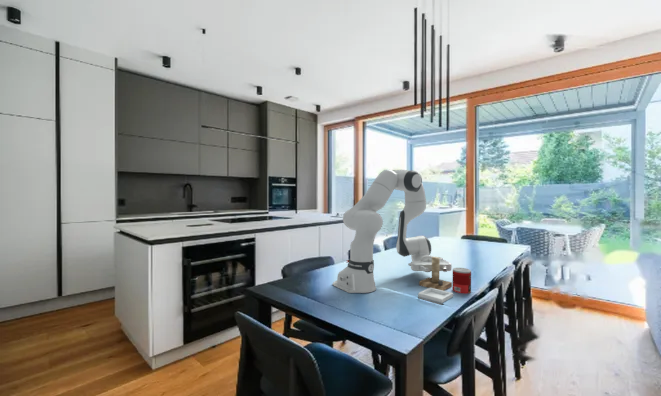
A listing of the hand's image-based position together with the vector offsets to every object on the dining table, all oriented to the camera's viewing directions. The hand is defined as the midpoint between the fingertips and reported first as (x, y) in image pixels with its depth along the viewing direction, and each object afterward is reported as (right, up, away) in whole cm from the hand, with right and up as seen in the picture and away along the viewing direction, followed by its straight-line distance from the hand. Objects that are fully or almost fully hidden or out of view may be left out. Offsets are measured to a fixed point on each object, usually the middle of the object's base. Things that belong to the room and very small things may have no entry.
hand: (436, 270), depth 147 cm
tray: (-5, -9, -14) cm, 17 cm away
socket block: (0, -9, +1) cm, 9 cm away
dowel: (0, -8, +1) cm, 8 cm away
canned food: (+10, -9, -6) cm, 15 cm away
